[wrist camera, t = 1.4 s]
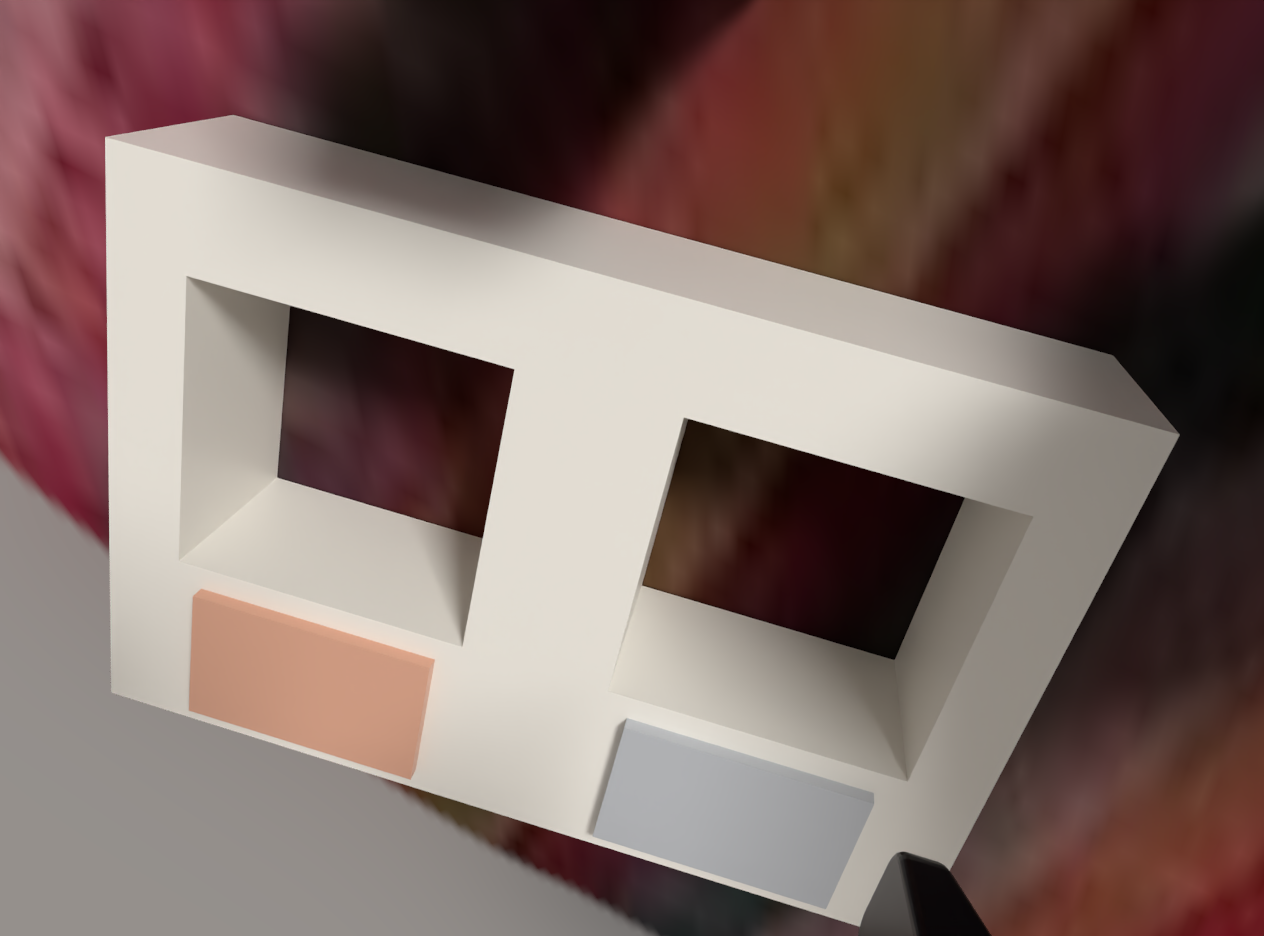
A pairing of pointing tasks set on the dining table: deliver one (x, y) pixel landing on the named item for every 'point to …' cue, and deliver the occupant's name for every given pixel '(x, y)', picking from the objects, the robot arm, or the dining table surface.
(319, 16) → the dining table surface
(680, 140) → the dining table surface
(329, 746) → the socket block
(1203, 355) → the dining table surface
